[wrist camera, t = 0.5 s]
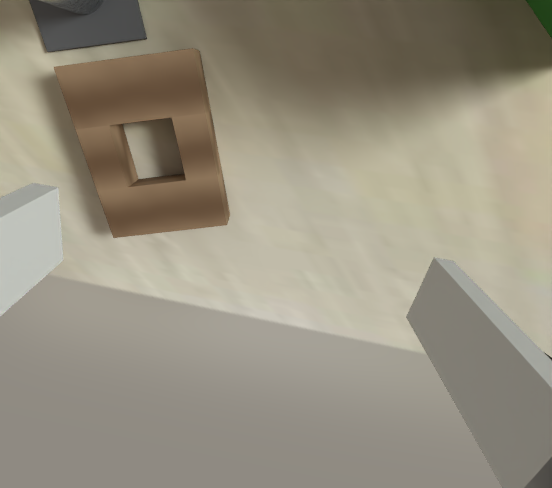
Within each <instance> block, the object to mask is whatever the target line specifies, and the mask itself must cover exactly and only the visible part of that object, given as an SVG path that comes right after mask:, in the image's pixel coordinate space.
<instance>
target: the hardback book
mask: <svg viewBox="0 0 552 488" xmlns="http://www.w3.org/2000/svg"><path fill="white" fill-rule="evenodd" d="M526 1H527V3H528V4H529V5H530V7H531V8H532V10H533V11H534V13H535V14H536V16H537V17H538V19H539V20H540V22H541V23H542V25H543V26H544V28H545V29H546V31H547V32H548V34H549V35H550V37H551V38H552V0H526Z"/></svg>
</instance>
